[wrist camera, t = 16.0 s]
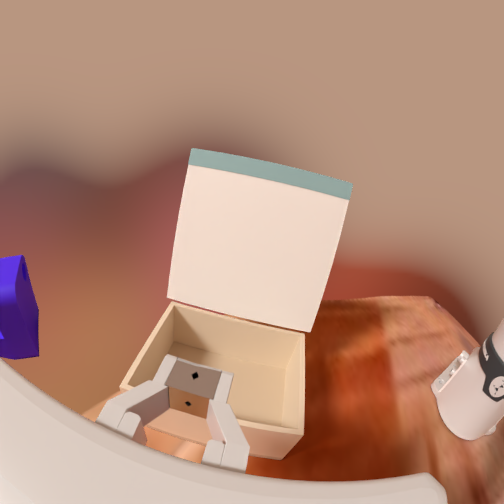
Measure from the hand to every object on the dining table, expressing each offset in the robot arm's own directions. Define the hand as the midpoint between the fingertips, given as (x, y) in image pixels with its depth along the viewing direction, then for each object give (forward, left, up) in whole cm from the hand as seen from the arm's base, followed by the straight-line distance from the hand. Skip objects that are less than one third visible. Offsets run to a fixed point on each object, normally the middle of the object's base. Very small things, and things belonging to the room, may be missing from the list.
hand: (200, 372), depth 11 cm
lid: (-15, -15, -3) cm, 22 cm away
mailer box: (-9, -9, -21) cm, 25 cm away
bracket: (+22, -29, -22) cm, 43 cm away
